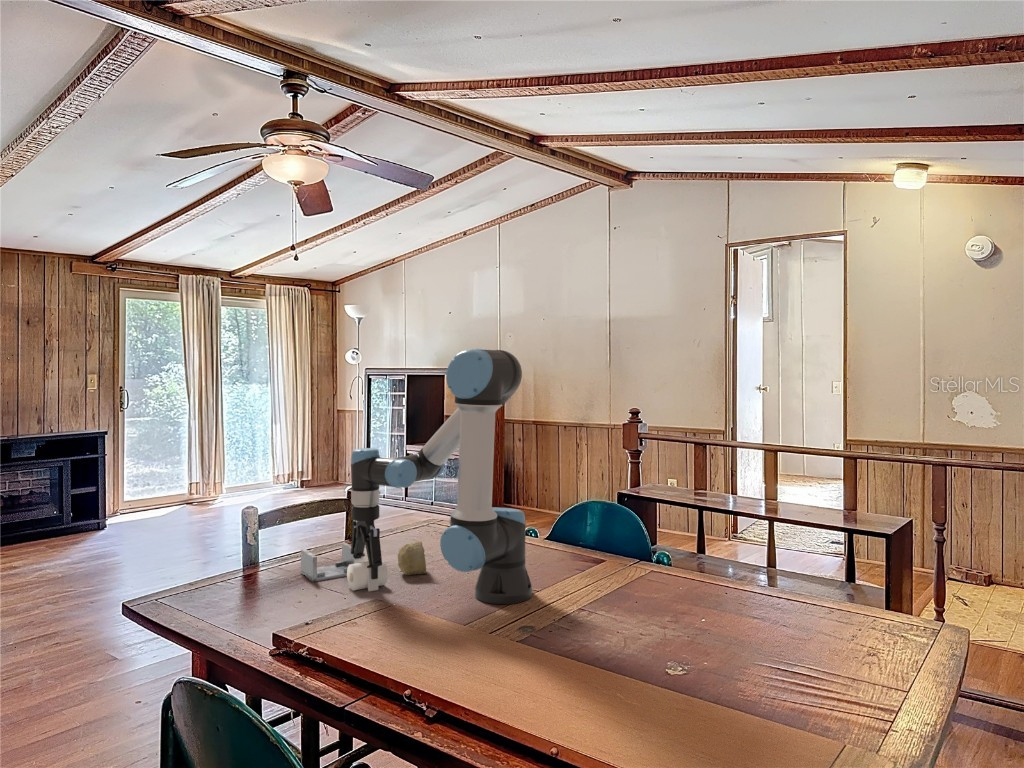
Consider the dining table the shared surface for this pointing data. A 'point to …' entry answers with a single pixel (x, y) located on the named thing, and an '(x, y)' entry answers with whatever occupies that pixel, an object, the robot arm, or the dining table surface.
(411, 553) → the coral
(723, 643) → the dining table surface
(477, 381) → the robot arm
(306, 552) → the cradle
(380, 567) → the roll
